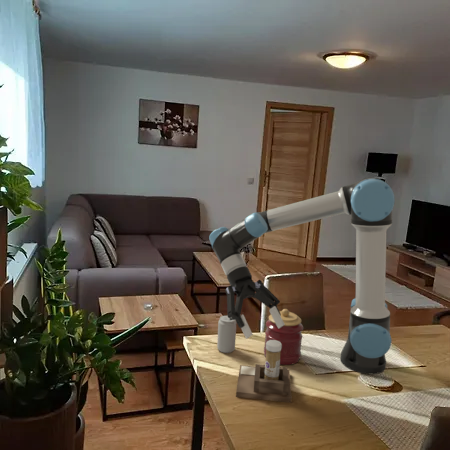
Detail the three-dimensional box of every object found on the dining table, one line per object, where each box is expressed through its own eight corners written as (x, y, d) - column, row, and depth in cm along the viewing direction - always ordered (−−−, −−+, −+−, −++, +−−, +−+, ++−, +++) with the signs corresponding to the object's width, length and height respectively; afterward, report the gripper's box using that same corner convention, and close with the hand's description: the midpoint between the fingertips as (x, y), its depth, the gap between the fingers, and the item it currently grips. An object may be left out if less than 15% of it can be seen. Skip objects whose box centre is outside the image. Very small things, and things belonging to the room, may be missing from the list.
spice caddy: (288, 374, 139) (290, 360, 138) (291, 402, 123) (292, 386, 122) (239, 369, 140) (240, 355, 140) (235, 396, 125) (236, 380, 124)
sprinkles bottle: (260, 384, 129) (263, 342, 127) (269, 378, 133) (271, 337, 130) (273, 390, 126) (276, 347, 124) (281, 384, 130) (284, 342, 128)
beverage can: (233, 355, 150) (234, 322, 148) (215, 352, 151) (216, 320, 149) (236, 347, 156) (238, 316, 154) (219, 344, 157) (220, 313, 155)
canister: (304, 366, 145) (309, 316, 142) (266, 365, 144) (270, 315, 141) (295, 348, 158) (299, 303, 155) (260, 347, 157) (264, 302, 154)
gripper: (258, 272, 149) (287, 327, 140) (200, 282, 133) (228, 346, 124) (270, 260, 144) (300, 317, 135) (211, 270, 128) (241, 335, 119)
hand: (266, 331), depth 129 cm, fingers open, 13 cm apart
